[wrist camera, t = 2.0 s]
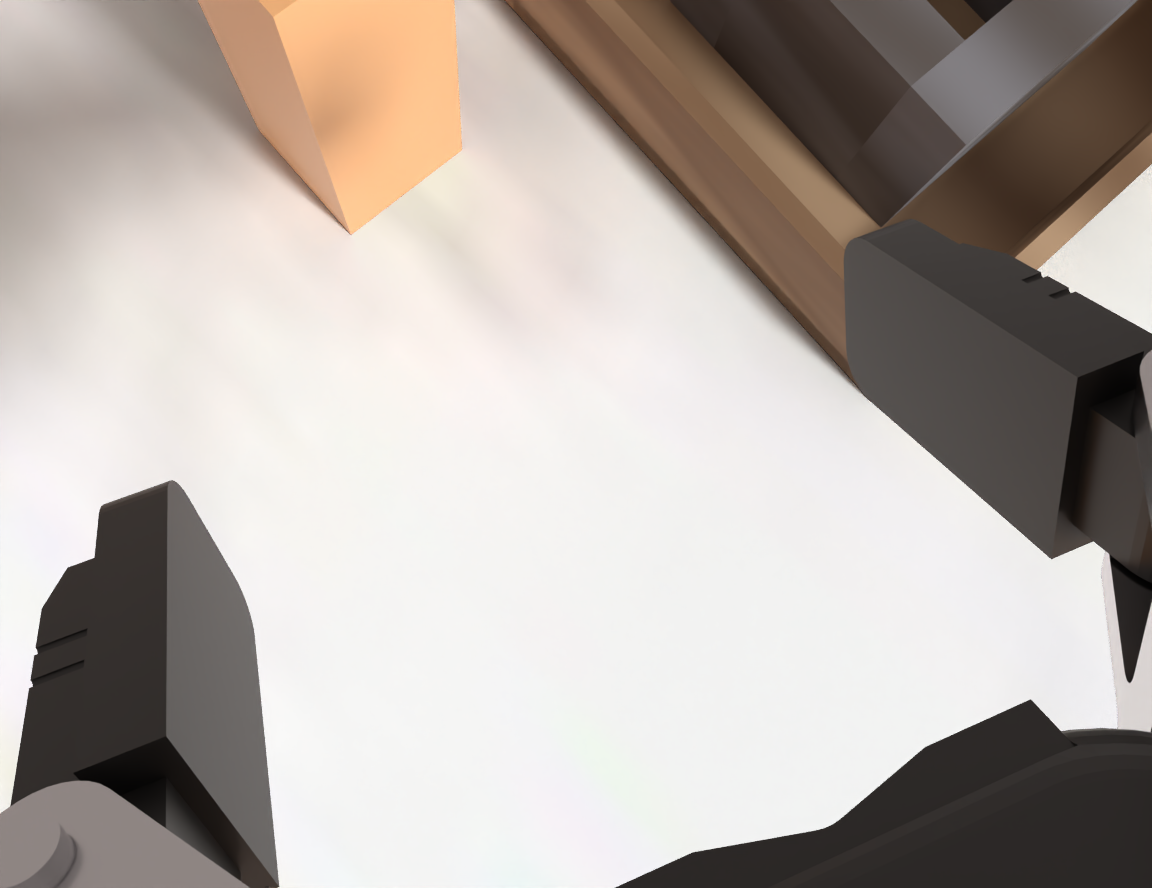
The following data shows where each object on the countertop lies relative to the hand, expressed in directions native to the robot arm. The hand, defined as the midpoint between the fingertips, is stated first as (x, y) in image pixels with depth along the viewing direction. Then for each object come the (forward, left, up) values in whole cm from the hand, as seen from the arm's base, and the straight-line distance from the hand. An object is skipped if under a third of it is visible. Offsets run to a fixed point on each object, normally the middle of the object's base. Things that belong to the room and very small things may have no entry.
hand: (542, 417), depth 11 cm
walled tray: (-18, -4, -15) cm, 24 cm away
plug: (-4, -11, -15) cm, 19 cm away
